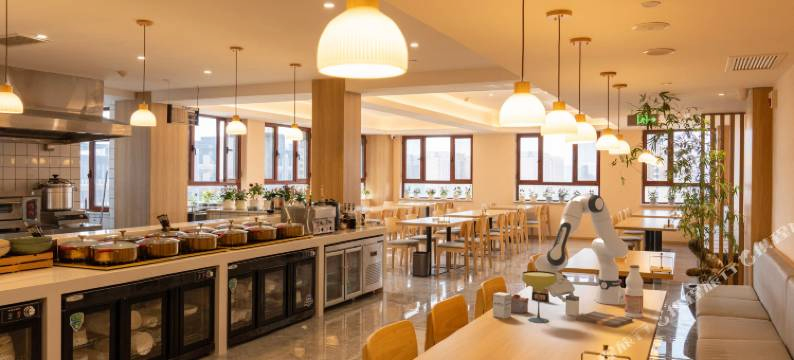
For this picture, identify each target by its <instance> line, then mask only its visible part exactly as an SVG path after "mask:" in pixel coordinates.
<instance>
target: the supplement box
mask: <svg viewBox="0 0 794 360" xmlns="http://www.w3.org/2000/svg"><path fill="white" fill-rule="evenodd" d="M492 296H493V297H492V298H493V300H492V317H495V318H498V319H503V320H504V319H507V318H508V319H509V318H511V316H512V312H511V296H512V293H508V292H501V291H498V292H496V293H495V292H494V293H493V295H492Z"/></svg>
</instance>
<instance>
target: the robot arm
mask: <svg viewBox="0 0 794 360" xmlns="http://www.w3.org/2000/svg"><path fill="white" fill-rule="evenodd" d="M583 214H590V219H591V222H592V226H593V229H594V232H595V234H596V235H598V237H596V238H595V239H593V240H592V243H591V250H592V251H593V253H595V256H596V258H597V261H598V266H599V268H598V269H599V270H598V271H599V275H598V276H599V277H598V281H597V282H598V285H597V287H596V291H595V297H594V298H593V301H595V302H596V303H599V304H604V305H611V306H612V305H619V306H620V305H621V306H623V305H624V306H625V290H624V288H622V287H621V283H622V279H619V276H620V275H619V273H620V271H619V268H620V267H619V265H618V264H617V262H616V261H615V259H614V258H616V259H618V258H624V257H626V256H627V254H628V252H629V246H628V244H627V243H626V242H625V241H624V240H623V239H622V238H621V237H620V235H619V234H618V232H617V231H616V229H615V227H614V224H613V220H612V217H611V215H610V214H611V213H610V211H609V208H608V206H607V205H606V203H605V201H604V199H603V197H601V196H600V195H598V194H581V195H573V196H571V198H570V199H569V201H567V203H566V204H565V206H564V208H563V211H562V214H561V217H560V222H559V227H558V231H557V234H556V236H555V237H556V238H555V239H554V243H553V244H552V246H551V247H550V248H549V250H548V251H547V254H540V255H539V256H538V257H536V259H535V261H534V266H535V268H536V269H537V270H536V271H545V272H552V273H555V274H556V275H557V280H556V282H555V283H554V284H553V285H551V286H549V287H547V289H548V291H549V295H551V297H553V298H556V297H557V298H558V299H559V300H561V302H563V303H566V301H567V300H566V297H564V296H566V295H572V296H575V293H574V291H575V290H576V288H575V286H574V285H573V283H572V282H571V280H569V279H568V278H569V277H568V276H567V275H565V274H562V273H560V272H559V271H561V270H563V269H565V268H566V267H567V266H568V264H569V260H568V256H567V255H566V252H565V249H566V245H567V243H568V240H569V237H570V236H571V234H574V233H576V232H577V231H578V229H579V226H580V224H581V221H582V218H583Z"/></svg>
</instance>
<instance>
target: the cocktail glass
mask: <svg viewBox="0 0 794 360" xmlns="http://www.w3.org/2000/svg"><path fill="white" fill-rule="evenodd" d="M521 279H522V281H523V283H525V284H527V285H528V286H530V287H531V288H534V289H535V290H536V291H537V292H538V301H537V315H536V317H529V318H527V320H528V321H529V322H530V323H537V324H546V323H549V322H550V321H549V319H547V318H544V317H541V315H540V313H541V312H540V301H539V295H540V292H541V291H542V290H543V289H544V288H546V287H549V286H551V285H553V284H554V283H555V282H556V280H557V275H556V274H555V273H552V272H545V271H538V270H528V271H527V270H526V271H523V272H521Z"/></svg>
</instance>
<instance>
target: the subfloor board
mask: <svg viewBox="0 0 794 360" xmlns="http://www.w3.org/2000/svg"><path fill="white" fill-rule="evenodd" d="M575 320H576V321H581V322H585V323H591V324H595V325H601V326H604V327H605V326H606V327H610V328H617V327H621V326H623V325H626V324H627V323H628V324H629V323H632V322H633V318H632V317H627V316H620V315H616V314H611V313H605V312H601V311H596V310H595V311H591V312H587V313H585V314H579V315H576V316H575Z"/></svg>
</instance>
